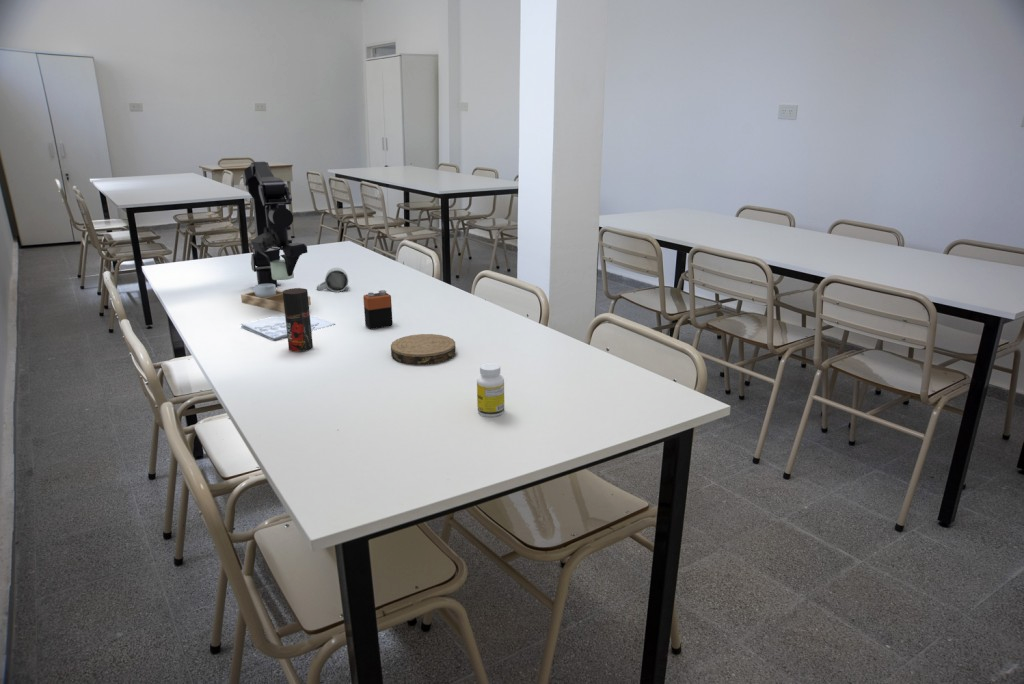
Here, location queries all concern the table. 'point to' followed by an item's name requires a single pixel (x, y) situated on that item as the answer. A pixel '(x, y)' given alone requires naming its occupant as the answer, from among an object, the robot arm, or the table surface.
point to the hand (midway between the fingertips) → (282, 274)
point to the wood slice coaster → (423, 349)
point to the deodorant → (297, 319)
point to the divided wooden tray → (267, 301)
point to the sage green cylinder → (279, 270)
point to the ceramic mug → (334, 280)
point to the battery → (378, 310)
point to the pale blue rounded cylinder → (265, 290)
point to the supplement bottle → (490, 390)
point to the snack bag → (280, 326)
